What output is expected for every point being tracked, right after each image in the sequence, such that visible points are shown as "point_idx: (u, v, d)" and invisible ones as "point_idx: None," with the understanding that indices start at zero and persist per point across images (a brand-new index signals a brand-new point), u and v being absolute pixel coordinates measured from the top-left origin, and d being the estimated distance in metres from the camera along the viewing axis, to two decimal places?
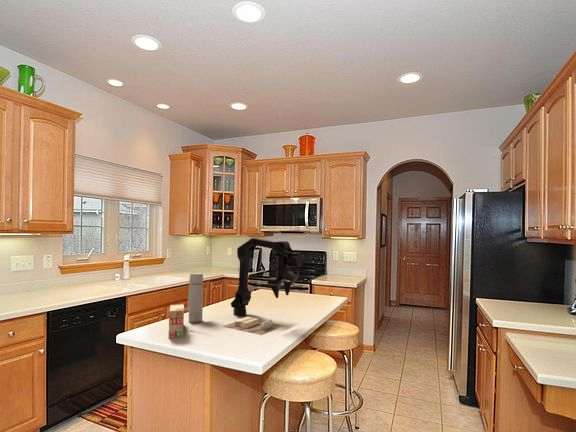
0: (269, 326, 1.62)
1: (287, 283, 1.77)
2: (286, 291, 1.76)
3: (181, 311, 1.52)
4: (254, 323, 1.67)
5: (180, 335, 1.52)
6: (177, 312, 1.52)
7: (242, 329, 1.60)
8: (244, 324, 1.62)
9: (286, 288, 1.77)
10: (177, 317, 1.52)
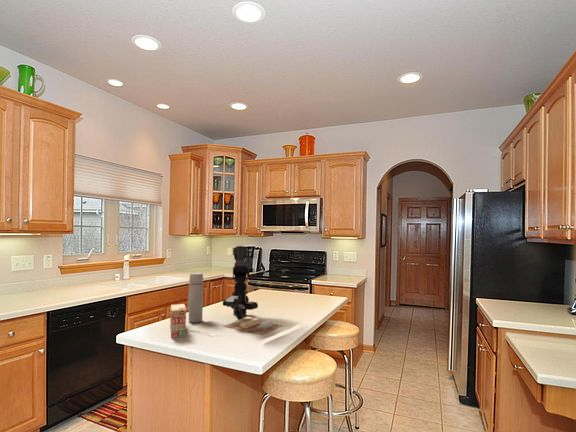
0: (269, 326, 1.62)
1: None
2: None
3: (183, 310, 1.53)
4: (254, 323, 1.67)
5: (182, 334, 1.53)
6: (179, 311, 1.53)
7: (242, 329, 1.60)
8: (244, 324, 1.62)
9: None
10: (179, 317, 1.53)
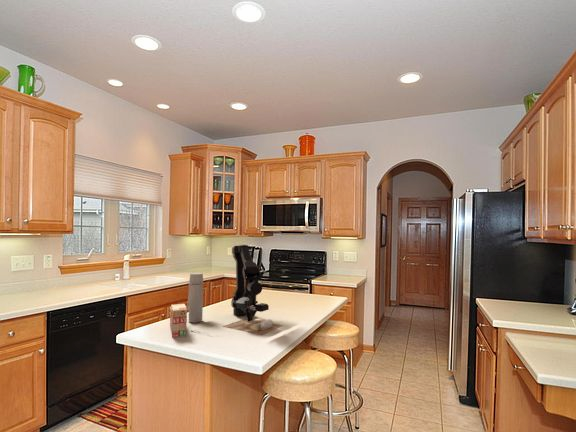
0: (269, 326, 1.62)
1: None
2: None
3: (184, 310, 1.54)
4: None
5: (183, 334, 1.53)
6: (180, 311, 1.53)
7: (242, 329, 1.60)
8: (255, 326, 1.59)
9: None
10: (180, 316, 1.53)
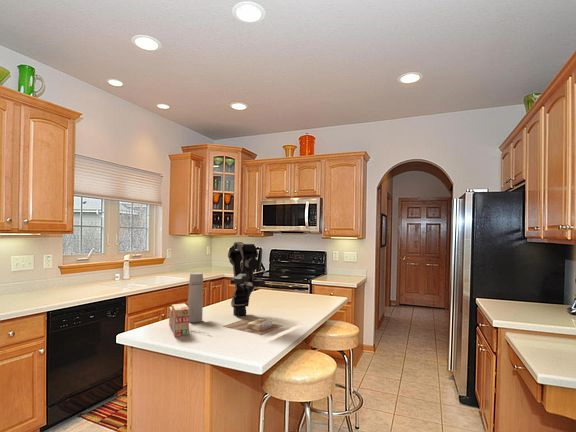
0: (269, 326, 1.62)
1: None
2: None
3: (187, 310, 1.55)
4: None
5: (186, 333, 1.55)
6: (183, 311, 1.54)
7: (242, 329, 1.60)
8: (257, 327, 1.58)
9: None
10: (182, 316, 1.54)
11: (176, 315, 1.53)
